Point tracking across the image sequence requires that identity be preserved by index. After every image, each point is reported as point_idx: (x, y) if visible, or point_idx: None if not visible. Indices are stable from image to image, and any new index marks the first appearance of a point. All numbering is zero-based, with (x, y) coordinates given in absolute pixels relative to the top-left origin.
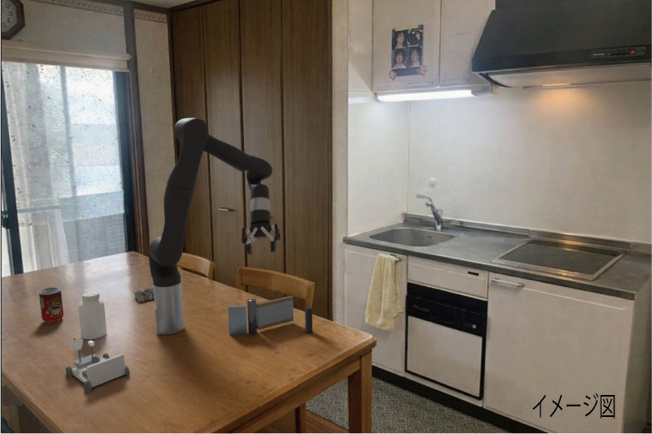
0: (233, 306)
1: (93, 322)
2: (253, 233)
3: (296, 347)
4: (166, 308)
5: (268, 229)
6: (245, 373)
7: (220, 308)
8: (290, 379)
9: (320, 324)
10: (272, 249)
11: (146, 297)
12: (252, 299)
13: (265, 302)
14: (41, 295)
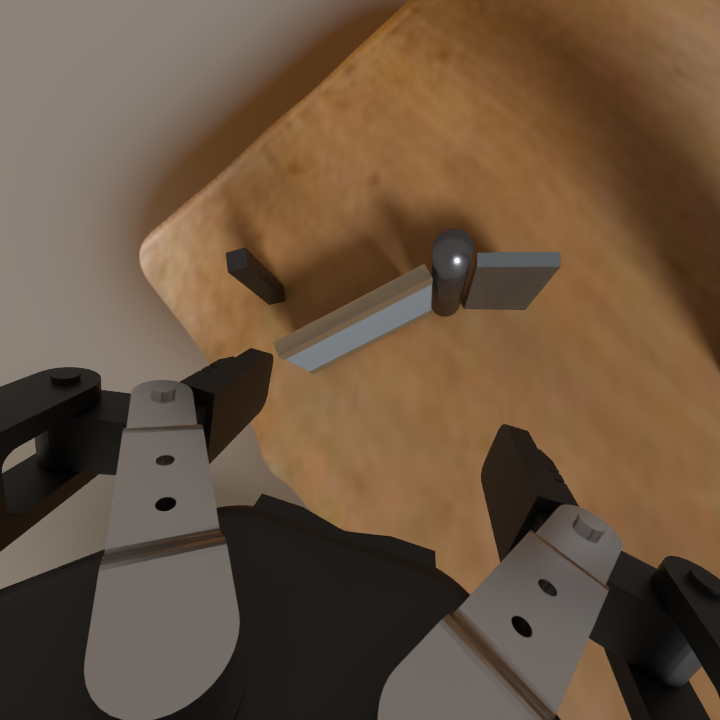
0: (535, 260)
1: None
2: (515, 655)
3: (322, 205)
4: None
5: (29, 582)
6: (454, 85)
7: None
8: (352, 67)
9: (234, 345)
10: (246, 351)
11: None
12: (449, 258)
13: (392, 286)
14: None
